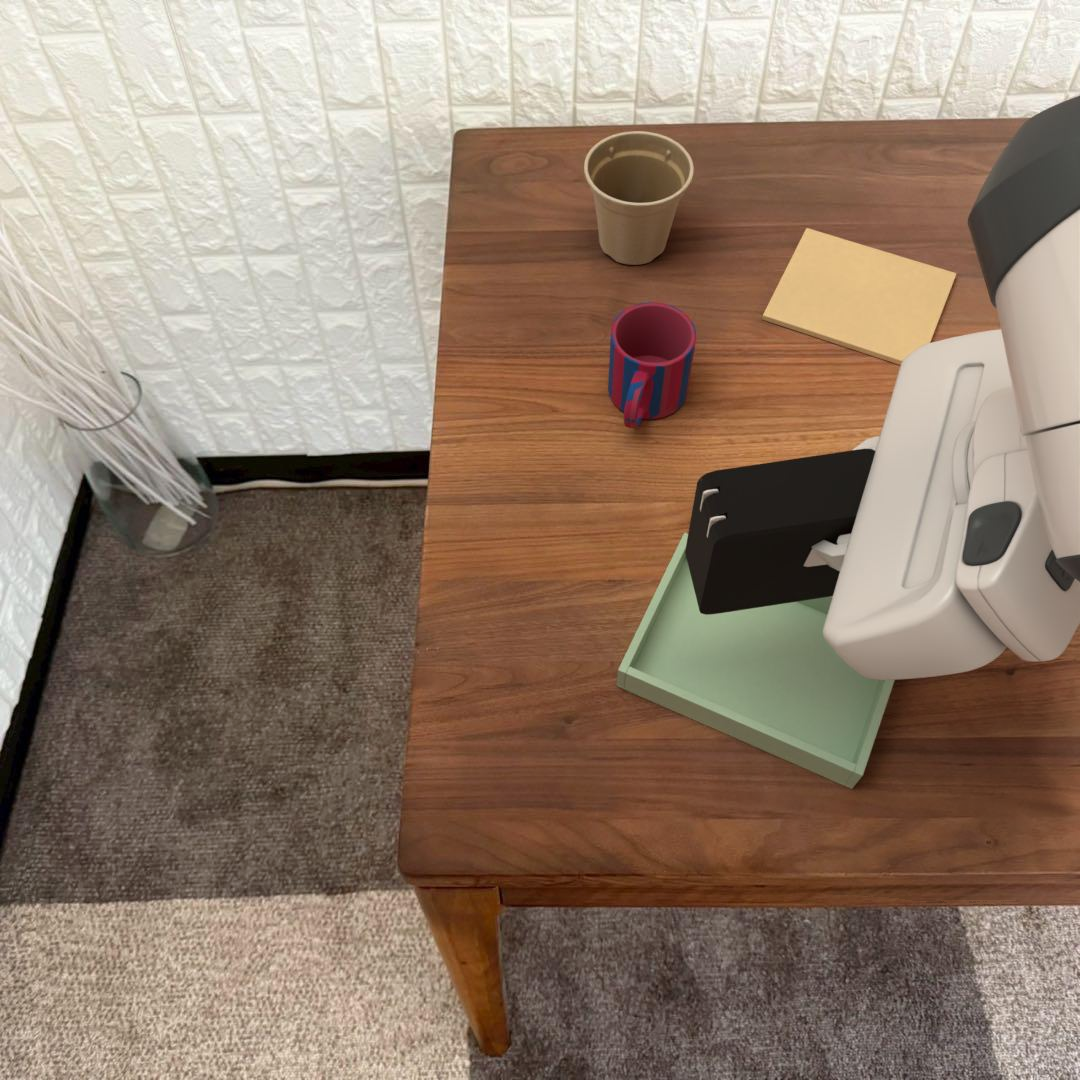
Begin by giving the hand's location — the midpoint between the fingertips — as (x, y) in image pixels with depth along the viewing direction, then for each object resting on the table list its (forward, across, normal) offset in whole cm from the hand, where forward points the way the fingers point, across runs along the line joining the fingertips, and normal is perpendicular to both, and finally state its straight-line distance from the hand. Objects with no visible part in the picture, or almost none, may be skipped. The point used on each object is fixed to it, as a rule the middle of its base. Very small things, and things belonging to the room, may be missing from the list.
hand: (807, 517), depth 58 cm
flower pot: (+28, -35, -3) cm, 45 cm away
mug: (+23, -18, +2) cm, 29 cm away
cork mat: (+13, -36, +12) cm, 40 cm away
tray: (+12, +1, +13) cm, 18 cm away
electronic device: (+5, +1, +3) cm, 6 cm away
